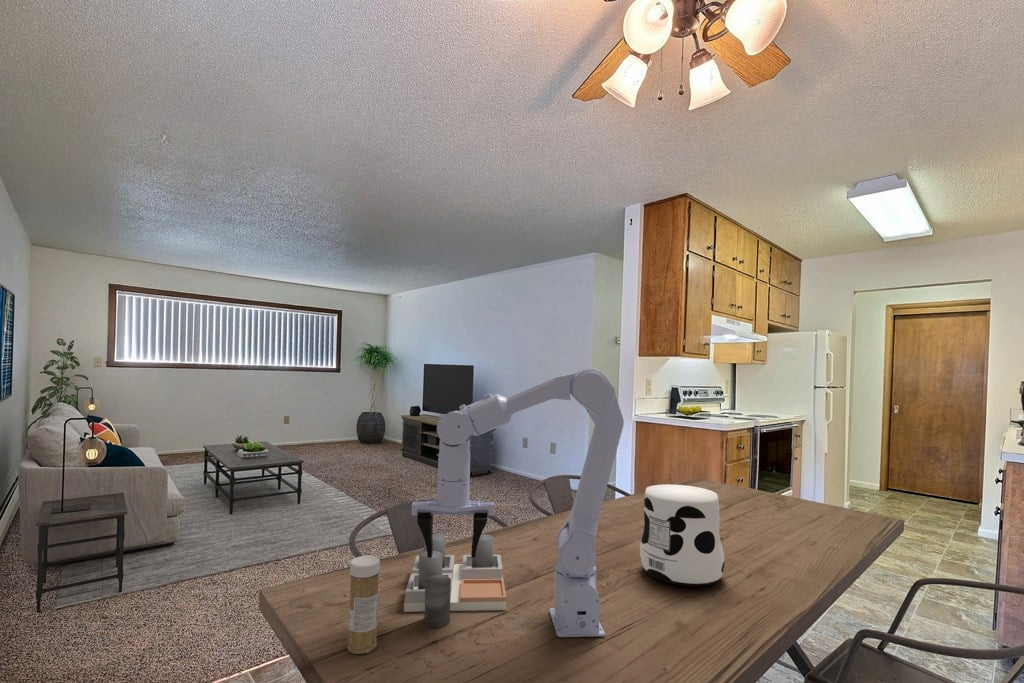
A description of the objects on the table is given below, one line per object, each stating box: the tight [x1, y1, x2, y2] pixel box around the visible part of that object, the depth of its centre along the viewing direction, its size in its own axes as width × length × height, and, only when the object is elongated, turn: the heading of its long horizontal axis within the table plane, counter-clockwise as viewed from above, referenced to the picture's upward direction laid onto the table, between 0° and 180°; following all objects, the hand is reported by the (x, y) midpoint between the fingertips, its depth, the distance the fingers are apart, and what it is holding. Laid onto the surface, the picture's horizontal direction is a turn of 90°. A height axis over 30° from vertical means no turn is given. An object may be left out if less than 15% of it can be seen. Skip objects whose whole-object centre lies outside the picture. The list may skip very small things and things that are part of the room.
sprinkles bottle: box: [347, 555, 381, 655], centre depth 80 cm, size 5×5×14 cm
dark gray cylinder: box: [423, 575, 451, 629], centre depth 88 cm, size 4×4×7 cm
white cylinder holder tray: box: [403, 533, 507, 613], centre depth 101 cm, size 18×18×8 cm
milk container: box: [639, 484, 725, 587], centre depth 110 cm, size 17×17×18 cm
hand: (451, 555), depth 91 cm, fingers open, 7 cm apart
